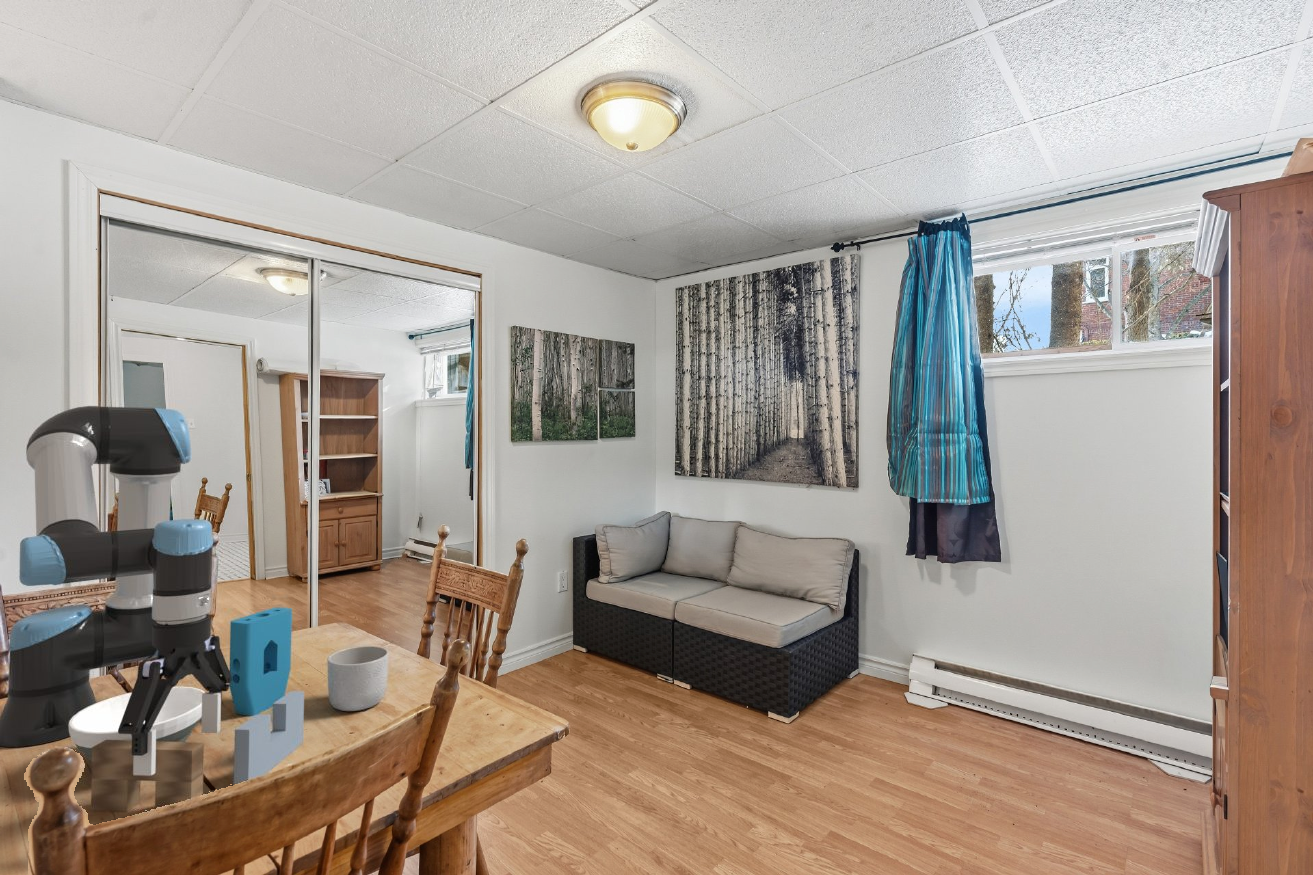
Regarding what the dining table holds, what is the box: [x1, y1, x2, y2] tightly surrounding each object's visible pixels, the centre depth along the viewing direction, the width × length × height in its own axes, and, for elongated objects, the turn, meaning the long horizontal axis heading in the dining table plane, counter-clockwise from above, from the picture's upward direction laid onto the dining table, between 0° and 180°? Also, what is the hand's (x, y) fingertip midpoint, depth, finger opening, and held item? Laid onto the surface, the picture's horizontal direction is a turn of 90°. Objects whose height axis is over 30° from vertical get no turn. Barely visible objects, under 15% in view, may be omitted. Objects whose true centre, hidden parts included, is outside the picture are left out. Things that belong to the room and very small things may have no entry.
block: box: [228, 606, 293, 717], centre depth 138 cm, size 12×5×20 cm, turn 165°
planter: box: [326, 645, 390, 712], centre depth 140 cm, size 12×12×11 cm
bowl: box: [69, 686, 205, 762], centre depth 115 cm, size 20×20×10 cm
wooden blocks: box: [90, 740, 205, 813], centre depth 101 cm, size 16×2×10 cm, turn 89°
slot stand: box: [233, 690, 305, 785], centre depth 114 cm, size 16×2×10 cm, turn 179°
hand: (179, 751), depth 100 cm, fingers open, 13 cm apart
